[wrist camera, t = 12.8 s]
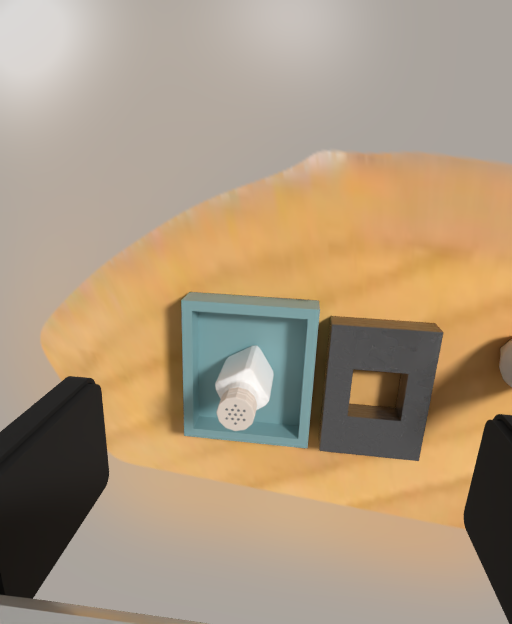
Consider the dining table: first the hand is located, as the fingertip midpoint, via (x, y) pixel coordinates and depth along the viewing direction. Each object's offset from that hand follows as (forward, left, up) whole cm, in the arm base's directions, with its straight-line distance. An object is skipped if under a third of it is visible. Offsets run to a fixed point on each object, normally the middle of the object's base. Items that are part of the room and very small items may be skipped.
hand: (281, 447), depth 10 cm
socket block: (-9, +13, -30) cm, 34 cm away
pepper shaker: (+4, +12, -30) cm, 33 cm away
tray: (+4, +12, -30) cm, 33 cm away
